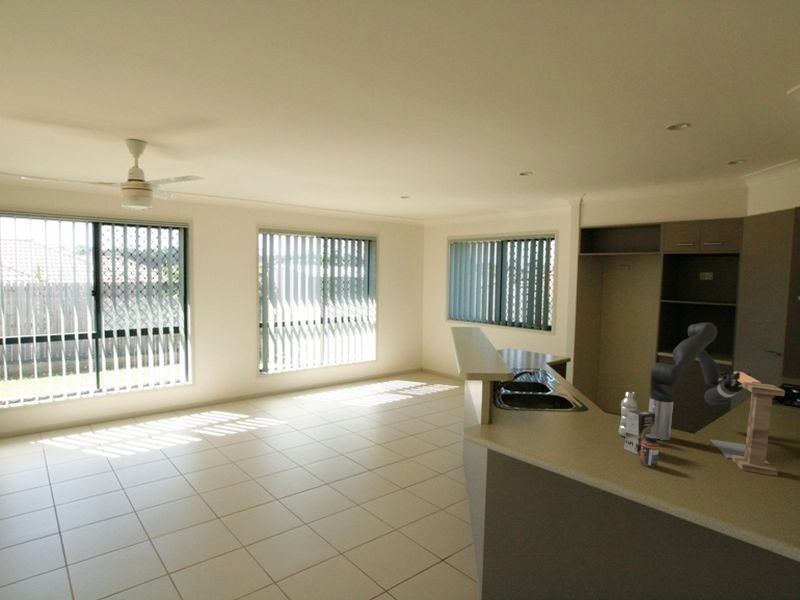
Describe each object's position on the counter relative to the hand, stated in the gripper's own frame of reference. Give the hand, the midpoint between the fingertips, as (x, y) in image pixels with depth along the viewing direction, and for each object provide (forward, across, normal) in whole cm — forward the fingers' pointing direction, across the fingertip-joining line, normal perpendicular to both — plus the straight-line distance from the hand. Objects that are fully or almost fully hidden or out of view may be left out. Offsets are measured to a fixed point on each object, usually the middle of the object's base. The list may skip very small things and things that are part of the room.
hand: (743, 375), depth 195 cm
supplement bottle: (+16, -40, +46) cm, 63 cm away
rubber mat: (-14, 0, +29) cm, 32 cm away
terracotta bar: (+2, 0, +4) cm, 5 cm away
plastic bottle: (-11, -43, +31) cm, 54 cm away
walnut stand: (+1, 0, +38) cm, 38 cm away
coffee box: (+3, -41, +39) cm, 57 cm away
